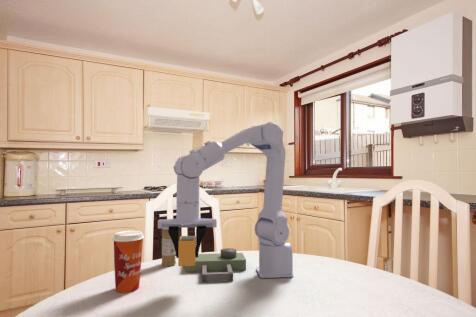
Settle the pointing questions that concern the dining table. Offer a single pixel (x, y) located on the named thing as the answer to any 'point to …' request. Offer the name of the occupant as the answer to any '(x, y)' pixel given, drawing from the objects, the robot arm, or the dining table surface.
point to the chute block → (187, 251)
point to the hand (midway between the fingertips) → (187, 256)
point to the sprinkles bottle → (167, 249)
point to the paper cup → (127, 260)
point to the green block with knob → (218, 265)
